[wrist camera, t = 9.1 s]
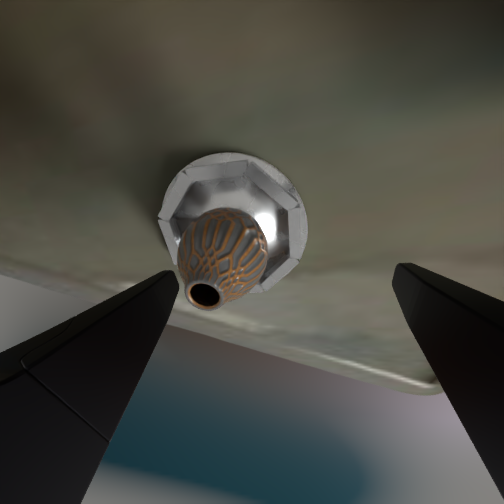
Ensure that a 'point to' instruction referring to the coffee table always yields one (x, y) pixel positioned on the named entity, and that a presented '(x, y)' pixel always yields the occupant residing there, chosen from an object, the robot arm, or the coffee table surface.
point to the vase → (221, 257)
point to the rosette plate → (239, 206)
